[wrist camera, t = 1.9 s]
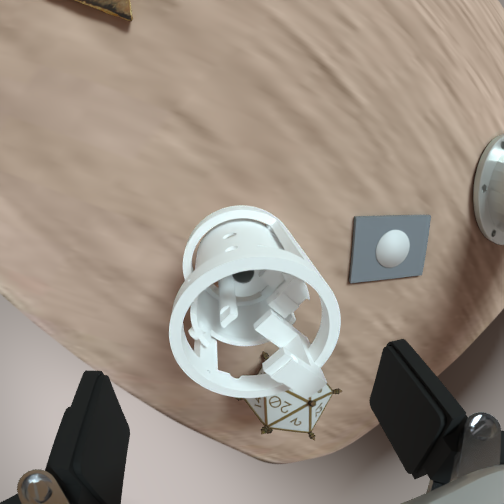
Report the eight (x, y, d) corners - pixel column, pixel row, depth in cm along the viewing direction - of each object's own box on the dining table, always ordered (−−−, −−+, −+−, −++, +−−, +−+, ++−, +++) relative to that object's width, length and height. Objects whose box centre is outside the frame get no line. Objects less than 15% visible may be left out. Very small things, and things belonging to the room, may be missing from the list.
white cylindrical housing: (236, 290, 27) (260, 434, 13) (171, 237, 25) (130, 361, 11) (296, 231, 26) (381, 340, 12) (233, 170, 24) (260, 226, 10)
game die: (258, 355, 35) (204, 416, 27) (297, 311, 30) (239, 381, 22) (319, 403, 33) (277, 471, 25) (368, 368, 28) (331, 451, 20)
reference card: (428, 214, 27) (431, 216, 27) (419, 273, 29) (422, 275, 29) (354, 216, 26) (356, 217, 26) (348, 281, 28) (350, 283, 28)
